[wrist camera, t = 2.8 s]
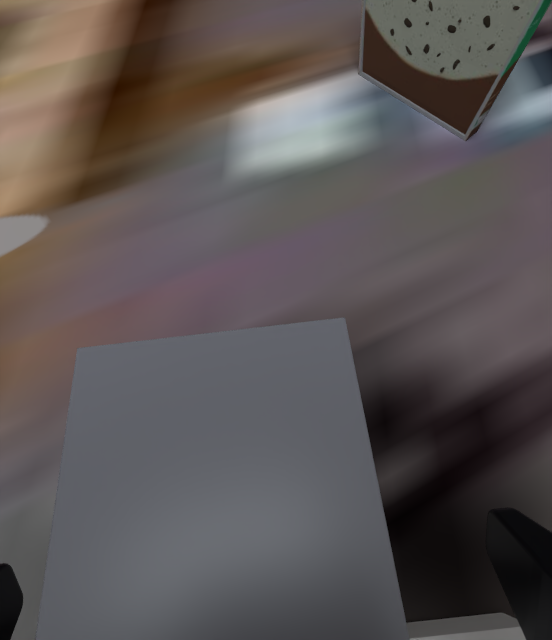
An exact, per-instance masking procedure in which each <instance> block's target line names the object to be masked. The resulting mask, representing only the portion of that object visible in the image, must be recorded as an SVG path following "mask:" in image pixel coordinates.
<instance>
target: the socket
mask: <svg viewBox="0 0 552 640" xmlns="http://www.w3.org/2000/svg"><path fill="white" fill-rule="evenodd" d="M406 624H407V629H408V634H409V639H410V640H526V638H525V636H524V634H523V632H522V629H521V627H520V625H519V623H518V621H517V619H516V618H513V617H511V616H509V615H507V614H504V613H492V614H483V615H474V616H465V617H455V618H446V619H437V620H428V621H418V622H409V623H406Z"/></svg>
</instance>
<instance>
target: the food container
mask: <svg viewBox="0 0 552 640" xmlns="http://www.w3.org/2000/svg"><path fill="white" fill-rule="evenodd" d="M551 2H552V0H362V12H361V33H360V53H359V73H358V74H359V75H360V76H362V77H364V78H365V79H367V80H368V81H370V82H372V83H373V84H375V85H376V86H378V87H380V88H381V89H383V90H384V91H386V92H388V93H389V94H391V95H392V96H394V97H396V98H397V99H399V100H400V101H402V102H404V103H405V104H407V105H408V106H410V107H412V108H413V109H415V110H416V111H418V112H420V113H421V114H423V115H424V116H426V117H428V118H429V119H431V120H432V121H434V122H436V123H437V124H439V125H440V126H442V127H444V128H445V129H447V130H448V131H450V132H452V133H453V134H455V135H456V136H458V137H460V138H461V139H463V140H464V141H467V140H468V139H469V138H470V137H471V136H472V135H474V134H475V133H476V132H477V130H478V129H479V127H480V125H481V123H482V122H483V120H484V118H485V117H486V115H487V113H488V111H489V110H490V108H491V106H492V104H493V103H494V101H495V99H496V98H497V96H498V94H499V92H500V91H501V89H502V87H503V85H504V84H505V82H506V80H507V78H508V77H509V75H510V73H511V72H512V70H513V68H514V66H515V65H516V63H517V61H518V59H519V58H520V56H521V54H522V52H523V51H524V49H525V47H526V46H527V44H528V42H529V40H530V39H531V37H532V35H533V33H534V32H535V30H536V28H537V27H538V25H539V23H540V21H541V20H542V18H543V16H544V14H545V13H546V11H547V9H548V7H549V6H550V4H551Z"/></svg>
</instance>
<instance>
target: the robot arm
mask: <svg viewBox="0 0 552 640" xmlns="http://www.w3.org/2000/svg"><path fill="white" fill-rule="evenodd" d="M486 549H487V553H488V556H489V558H490V561H491V563H492V565H493V567H494V569H495V572H496V574H497V576H498V578H499V581H500V583H501V585H502V587H503V589H504V592H505V594H506V596H507V598H508V601H509V603H510V605H511V607H512V609H513V612H514V614H515V616H516V618H517V621H518V623H519V625H520V627H521V629H522V632H523V634H524V636H525V638H526V640H552V532H550V531H549V530H547V529H546V528H544V527H542V526H541V525H539V524H538V523H536V522H535V521H533V520H532V519H530V518H528V517H527V516H525V515H524V514H522V513H521V512H519V511H517V510H516V509H513V508H500V509H492V510H490V511H489V513H488V518H487V532H486ZM22 605H23V593H22V591H21V588H20V586H19V584H18V581H17V579H16V576H15V574H14V572H13V569H12V567H11V566H10V565H8V564H5V563H3V564H0V640H10V639H11V636H12V634H13V631H14V628H15V625H16V623H17V620H18V617H19V615H20V612H21V609H22Z"/></svg>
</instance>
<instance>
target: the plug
mask: <svg viewBox="0 0 552 640" xmlns="http://www.w3.org/2000/svg"><path fill="white" fill-rule="evenodd" d="M35 640H410V639H409V634H408V629H407V624H406V619H405V614H404V609H403V604H402V599H401V594H400V589H399V584H398V579H397V574H396V569H395V564H394V560H393V555H392V550H391V545H390V540H389V535H388V530H387V525H386V520H385V515H384V510H383V505H382V500H381V495H380V490H379V485H378V480H377V475H376V470H375V465H374V460H373V455H372V450H371V445H370V440H369V435H368V430H367V425H366V421H365V416H364V411H363V406H362V401H361V396H360V391H359V386H358V381H357V376H356V371H355V366H354V361H353V356H352V351H351V346H350V341H349V336H348V331H347V326H346V321H345V318H336V319H328V320H319V321H310V322H302V323H293V324H284V325H276V326H267V327H258V328H250V329H241V330H232V331H223V332H215V333H206V334H197V335H189V336H180V337H171V338H163V339H154V340H145V341H136V342H128V343H119V344H110V345H102V346H93V347H84V348H77V355H76V362H75V369H74V376H73V383H72V389H71V396H70V403H69V410H68V417H67V424H66V431H65V438H64V445H63V452H62V459H61V466H60V472H59V479H58V486H57V493H56V500H55V507H54V514H53V521H52V528H51V535H50V542H49V548H48V555H47V562H46V569H45V576H44V583H43V590H42V597H41V604H40V611H39V618H38V625H37V631H36V638H35Z"/></svg>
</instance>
